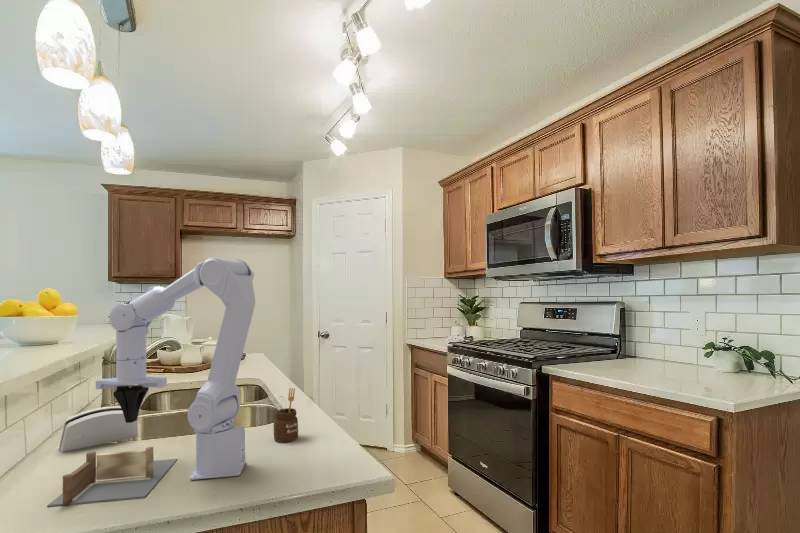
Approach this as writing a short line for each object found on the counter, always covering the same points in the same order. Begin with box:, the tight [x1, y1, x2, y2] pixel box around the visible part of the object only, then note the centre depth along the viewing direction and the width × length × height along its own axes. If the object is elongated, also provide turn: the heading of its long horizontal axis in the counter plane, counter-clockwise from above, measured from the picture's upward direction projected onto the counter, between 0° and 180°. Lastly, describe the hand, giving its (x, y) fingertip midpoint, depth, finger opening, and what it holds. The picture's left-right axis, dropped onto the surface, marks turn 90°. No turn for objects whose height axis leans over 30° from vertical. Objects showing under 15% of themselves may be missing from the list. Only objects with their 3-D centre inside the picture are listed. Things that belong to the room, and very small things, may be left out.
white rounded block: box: [58, 405, 139, 453], centre depth 117 cm, size 17×5×10 cm, turn 132°
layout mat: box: [47, 458, 178, 508], centre depth 93 cm, size 16×19×1 cm
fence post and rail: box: [62, 451, 97, 507], centre depth 87 cm, size 2×10×6 cm, turn 9°
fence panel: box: [96, 446, 154, 480], centre depth 93 cm, size 10×1×5 cm, turn 101°
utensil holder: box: [273, 387, 299, 444], centre depth 116 cm, size 6×6×12 cm
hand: (131, 421), depth 101 cm, fingers closed
